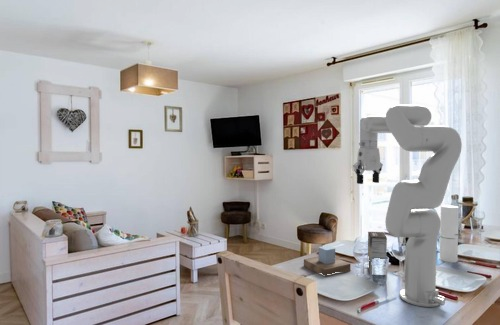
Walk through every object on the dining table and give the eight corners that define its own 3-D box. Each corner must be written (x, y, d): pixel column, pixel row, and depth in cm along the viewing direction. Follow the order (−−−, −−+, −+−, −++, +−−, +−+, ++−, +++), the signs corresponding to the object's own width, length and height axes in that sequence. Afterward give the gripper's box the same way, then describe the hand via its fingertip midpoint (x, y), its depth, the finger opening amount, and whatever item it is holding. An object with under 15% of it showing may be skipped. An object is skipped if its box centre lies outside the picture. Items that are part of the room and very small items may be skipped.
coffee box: (367, 267, 147) (367, 231, 146) (382, 268, 146) (383, 231, 145) (370, 275, 138) (370, 236, 137) (386, 276, 137) (387, 237, 136)
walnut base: (350, 270, 143) (350, 263, 143) (324, 276, 137) (324, 269, 137) (328, 260, 156) (328, 254, 155) (303, 265, 149) (303, 259, 149)
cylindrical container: (461, 261, 154) (462, 207, 153) (449, 263, 152) (451, 208, 150) (446, 256, 161) (448, 204, 160) (435, 258, 158) (437, 205, 157)
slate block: (335, 262, 145) (335, 248, 145) (326, 264, 143) (326, 250, 142) (327, 258, 149) (327, 245, 149) (318, 260, 147) (318, 247, 147)
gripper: (360, 145, 143) (360, 185, 144) (388, 144, 151) (388, 182, 152) (347, 145, 150) (347, 183, 151) (375, 145, 158) (375, 181, 159)
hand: (367, 183), depth 151 cm, fingers open, 9 cm apart
